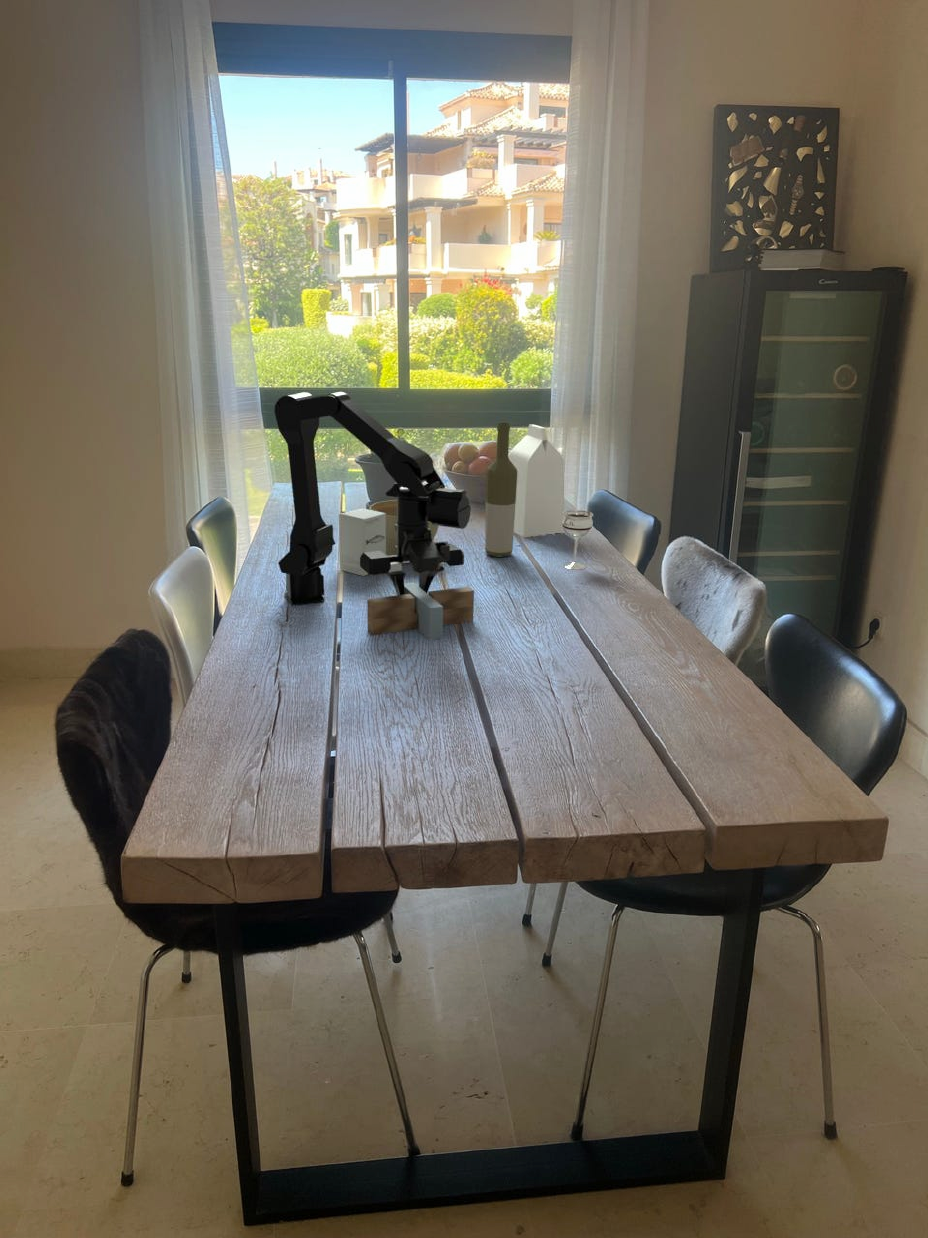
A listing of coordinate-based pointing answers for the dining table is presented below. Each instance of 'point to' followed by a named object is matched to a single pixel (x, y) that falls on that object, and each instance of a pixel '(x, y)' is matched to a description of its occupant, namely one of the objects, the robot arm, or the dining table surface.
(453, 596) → the walnut slotted plate
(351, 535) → the supplement box
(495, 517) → the bottle
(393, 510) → the planter bowl
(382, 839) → the dining table surface
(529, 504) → the milk
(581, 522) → the wineglass
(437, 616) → the slate-blue slotted crosspiece
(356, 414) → the robot arm
